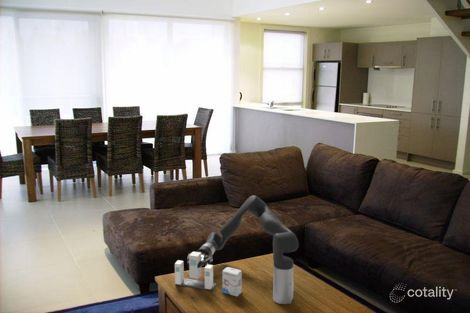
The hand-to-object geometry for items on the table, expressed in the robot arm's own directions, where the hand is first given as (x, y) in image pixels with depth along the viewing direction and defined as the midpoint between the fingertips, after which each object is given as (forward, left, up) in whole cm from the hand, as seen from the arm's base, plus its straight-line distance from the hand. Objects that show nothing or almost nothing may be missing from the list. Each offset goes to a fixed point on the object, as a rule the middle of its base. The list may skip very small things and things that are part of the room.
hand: (193, 265), depth 216 cm
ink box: (-20, 0, -12) cm, 23 cm away
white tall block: (0, -3, -7) cm, 8 cm away
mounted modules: (0, 0, -11) cm, 11 cm away
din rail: (0, -2, -12) cm, 12 cm away
